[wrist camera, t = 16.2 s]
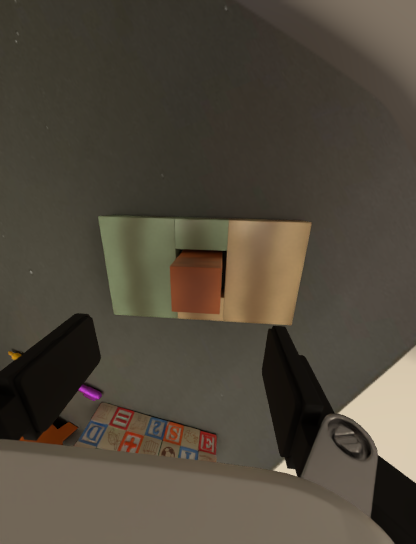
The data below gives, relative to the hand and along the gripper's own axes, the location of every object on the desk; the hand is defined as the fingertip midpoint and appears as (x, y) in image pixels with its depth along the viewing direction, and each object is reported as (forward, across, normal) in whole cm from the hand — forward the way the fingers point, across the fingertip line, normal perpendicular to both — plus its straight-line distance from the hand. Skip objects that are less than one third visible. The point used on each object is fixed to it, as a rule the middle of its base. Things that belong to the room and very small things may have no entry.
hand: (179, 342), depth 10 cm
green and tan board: (+15, 0, +1) cm, 15 cm away
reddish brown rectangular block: (+15, 0, +1) cm, 15 cm away
